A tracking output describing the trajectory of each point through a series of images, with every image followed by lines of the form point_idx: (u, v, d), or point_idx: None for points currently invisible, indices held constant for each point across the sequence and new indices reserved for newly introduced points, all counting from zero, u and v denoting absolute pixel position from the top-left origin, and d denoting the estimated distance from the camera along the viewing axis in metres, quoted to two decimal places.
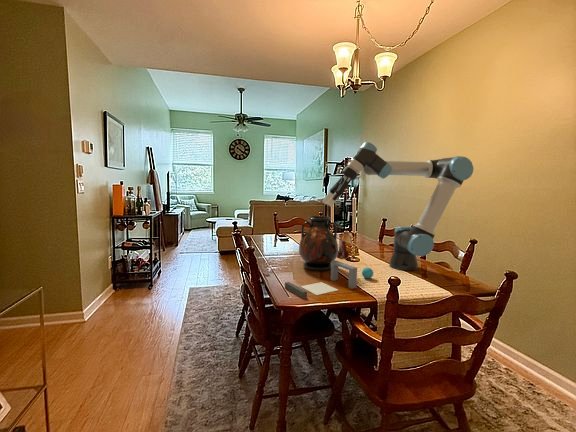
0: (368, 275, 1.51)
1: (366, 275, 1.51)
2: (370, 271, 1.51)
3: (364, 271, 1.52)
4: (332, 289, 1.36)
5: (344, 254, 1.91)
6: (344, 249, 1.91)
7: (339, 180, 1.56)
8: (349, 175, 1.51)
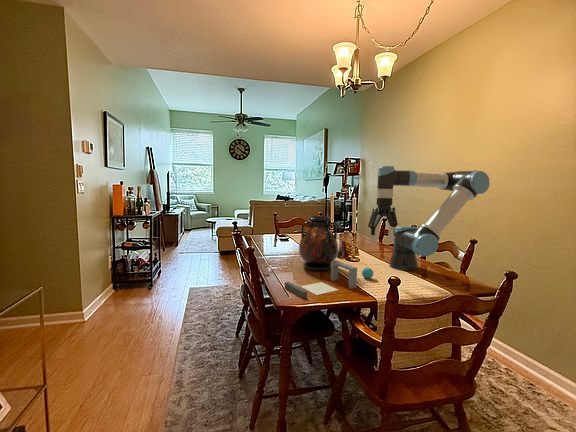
0: (368, 275, 1.51)
1: (366, 275, 1.51)
2: (370, 271, 1.51)
3: (364, 271, 1.52)
4: (332, 289, 1.36)
5: (344, 254, 1.91)
6: (344, 249, 1.91)
7: None
8: (378, 204, 1.53)
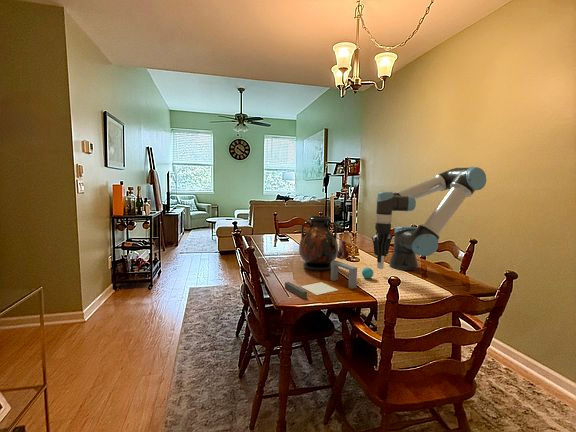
0: (368, 275, 1.51)
1: (366, 275, 1.51)
2: (370, 271, 1.51)
3: (364, 271, 1.52)
4: (332, 289, 1.36)
5: (344, 254, 1.91)
6: (344, 249, 1.91)
7: None
8: None
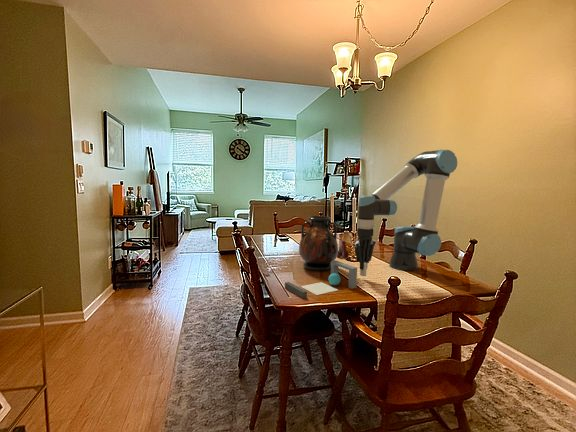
0: (337, 284, 1.41)
1: None
2: (335, 280, 1.40)
3: (331, 283, 1.42)
4: (332, 289, 1.36)
5: (344, 254, 1.91)
6: (344, 249, 1.91)
7: None
8: None
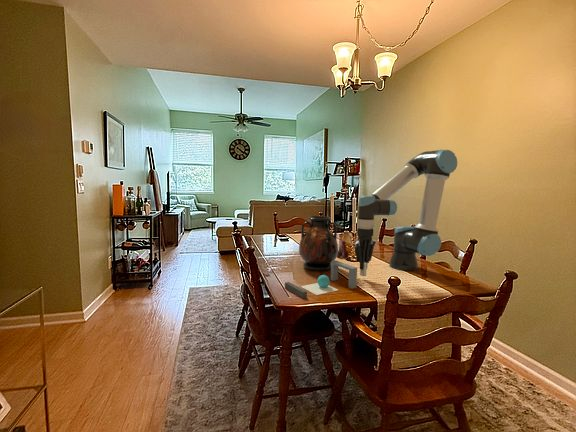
0: (328, 280, 1.38)
1: (328, 278, 1.39)
2: None
3: None
4: (332, 289, 1.36)
5: (344, 254, 1.91)
6: (344, 249, 1.91)
7: None
8: None
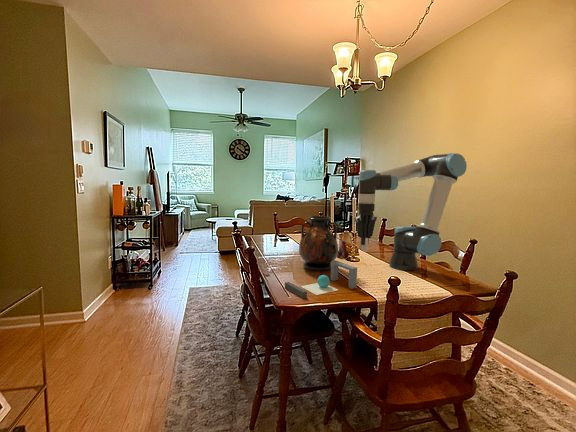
0: (328, 280, 1.38)
1: (328, 278, 1.39)
2: None
3: None
4: (332, 289, 1.36)
5: (344, 254, 1.91)
6: (344, 249, 1.91)
7: None
8: None
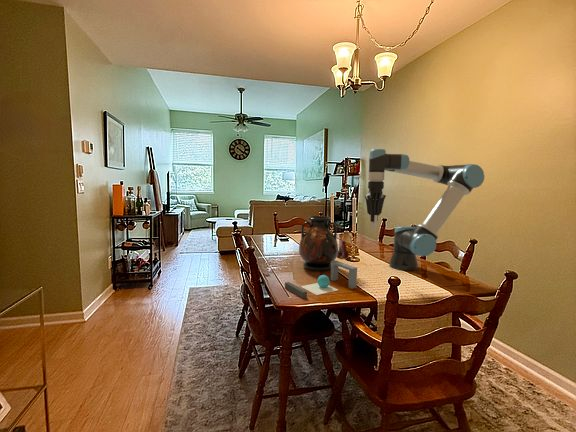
0: (328, 280, 1.38)
1: (328, 278, 1.39)
2: None
3: None
4: (332, 289, 1.36)
5: (344, 254, 1.91)
6: (344, 249, 1.91)
7: None
8: None
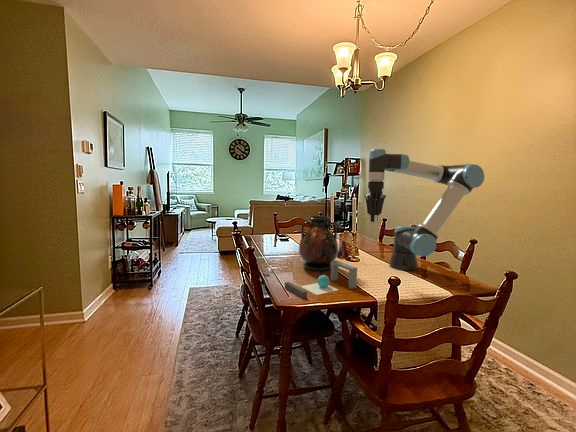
0: (328, 280, 1.38)
1: (328, 278, 1.39)
2: None
3: None
4: (332, 289, 1.36)
5: (344, 254, 1.91)
6: (344, 249, 1.91)
7: None
8: None
